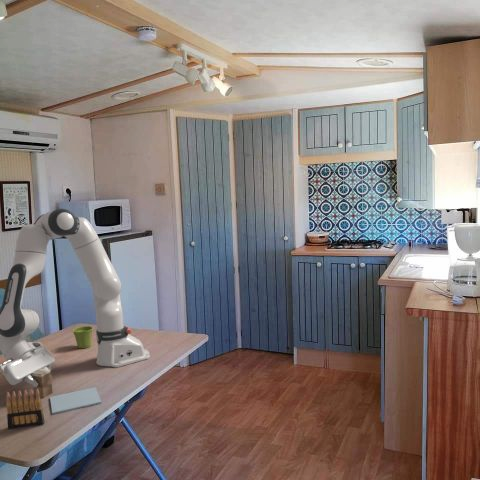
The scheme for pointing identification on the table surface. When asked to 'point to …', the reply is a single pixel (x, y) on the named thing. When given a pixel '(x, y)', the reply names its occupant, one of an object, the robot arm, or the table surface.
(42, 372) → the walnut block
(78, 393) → the blue-grey mat
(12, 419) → the ammunition clip
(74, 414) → the table surface
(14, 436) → the table surface
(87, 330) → the plant pot
